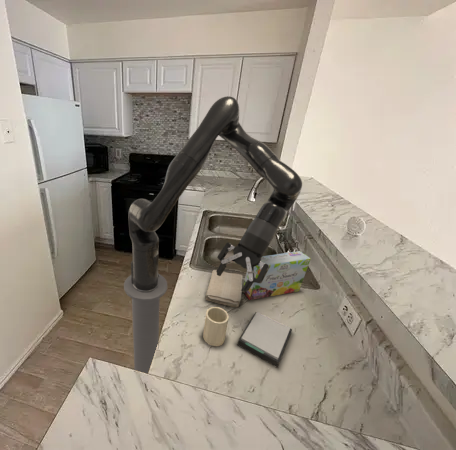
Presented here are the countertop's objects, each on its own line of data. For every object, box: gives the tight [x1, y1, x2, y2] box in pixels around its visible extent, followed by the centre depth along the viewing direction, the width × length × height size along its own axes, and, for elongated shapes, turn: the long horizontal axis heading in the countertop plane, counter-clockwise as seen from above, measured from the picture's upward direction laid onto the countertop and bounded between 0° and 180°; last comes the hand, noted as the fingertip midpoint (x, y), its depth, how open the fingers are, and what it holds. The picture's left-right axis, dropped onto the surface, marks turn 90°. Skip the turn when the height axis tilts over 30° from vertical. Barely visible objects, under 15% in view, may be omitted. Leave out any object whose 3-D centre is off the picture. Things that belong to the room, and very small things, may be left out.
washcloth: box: [205, 269, 243, 308], centre depth 94 cm, size 12×18×3 cm, turn 161°
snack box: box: [243, 250, 311, 301], centre depth 91 cm, size 21×6×15 cm, turn 105°
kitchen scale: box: [237, 311, 293, 368], centre depth 74 cm, size 11×14×3 cm
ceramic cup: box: [202, 306, 230, 347], centre depth 73 cm, size 6×6×9 cm
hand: (230, 283), depth 76 cm, fingers open, 8 cm apart
